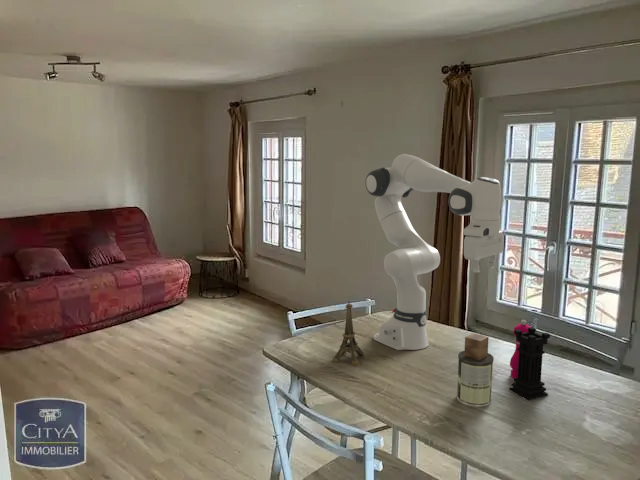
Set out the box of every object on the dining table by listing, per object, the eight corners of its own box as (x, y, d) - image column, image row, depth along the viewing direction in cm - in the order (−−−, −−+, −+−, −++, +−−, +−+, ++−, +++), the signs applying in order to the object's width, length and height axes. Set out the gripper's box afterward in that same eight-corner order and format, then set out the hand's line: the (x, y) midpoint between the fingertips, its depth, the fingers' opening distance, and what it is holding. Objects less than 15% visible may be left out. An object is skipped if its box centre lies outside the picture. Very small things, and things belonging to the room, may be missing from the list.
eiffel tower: (358, 366, 186) (358, 298, 182) (330, 362, 190) (330, 296, 186) (366, 356, 195) (367, 291, 191) (340, 352, 199) (340, 289, 195)
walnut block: (464, 355, 158) (465, 337, 157) (472, 351, 162) (473, 333, 161) (479, 360, 155) (480, 341, 154) (487, 355, 158) (488, 337, 157)
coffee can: (450, 394, 164) (451, 351, 161) (478, 390, 167) (480, 348, 164) (469, 409, 154) (471, 364, 152) (498, 404, 157) (501, 359, 155)
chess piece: (509, 389, 167) (512, 330, 163) (528, 385, 170) (531, 326, 166) (528, 400, 159) (532, 338, 156) (547, 395, 162) (551, 334, 159)
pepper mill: (533, 382, 172) (537, 324, 169) (510, 380, 174) (514, 322, 170) (529, 373, 179) (533, 317, 176) (507, 371, 181) (510, 316, 177)
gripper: (491, 224, 178) (489, 263, 180) (460, 230, 163) (459, 273, 166) (509, 225, 173) (507, 266, 175) (479, 232, 159) (477, 276, 161)
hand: (483, 269), depth 170 cm, fingers open, 8 cm apart
